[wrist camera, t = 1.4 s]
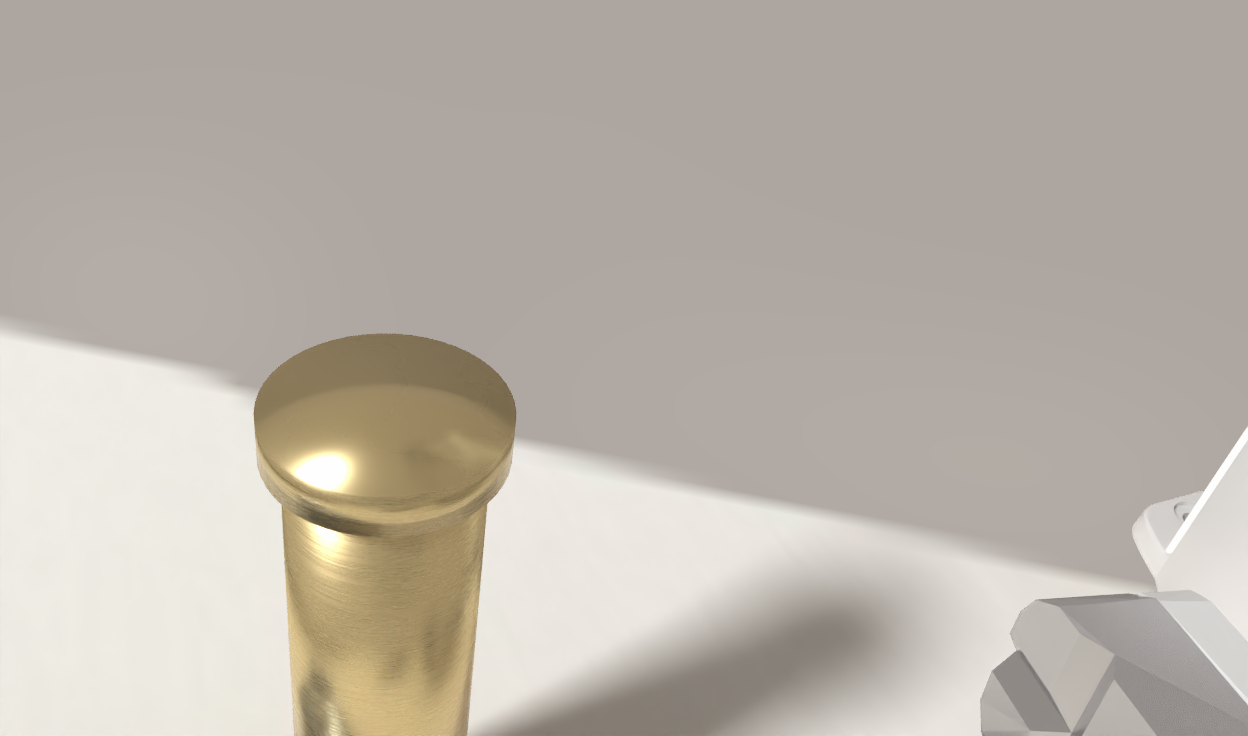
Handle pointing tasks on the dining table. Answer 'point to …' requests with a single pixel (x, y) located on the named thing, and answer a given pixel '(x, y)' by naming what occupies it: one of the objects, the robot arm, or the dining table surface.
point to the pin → (383, 526)
